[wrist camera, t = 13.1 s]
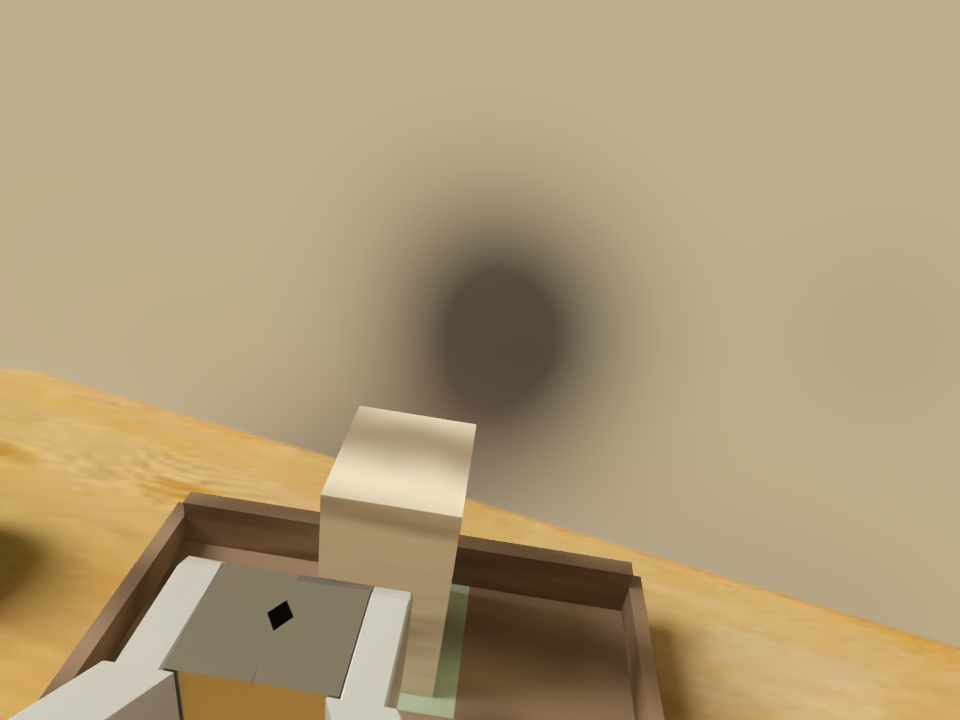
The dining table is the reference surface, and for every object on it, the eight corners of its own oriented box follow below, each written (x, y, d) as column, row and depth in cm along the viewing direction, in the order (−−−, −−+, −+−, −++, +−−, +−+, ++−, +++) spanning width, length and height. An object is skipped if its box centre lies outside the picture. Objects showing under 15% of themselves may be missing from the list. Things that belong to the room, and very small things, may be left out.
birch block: (432, 698, 34) (462, 517, 29) (314, 678, 34) (320, 494, 29) (449, 591, 41) (476, 424, 35) (348, 574, 41) (359, 405, 35)
